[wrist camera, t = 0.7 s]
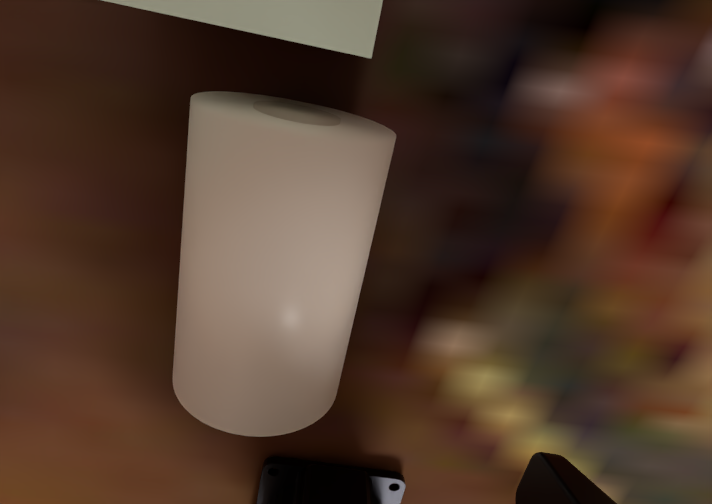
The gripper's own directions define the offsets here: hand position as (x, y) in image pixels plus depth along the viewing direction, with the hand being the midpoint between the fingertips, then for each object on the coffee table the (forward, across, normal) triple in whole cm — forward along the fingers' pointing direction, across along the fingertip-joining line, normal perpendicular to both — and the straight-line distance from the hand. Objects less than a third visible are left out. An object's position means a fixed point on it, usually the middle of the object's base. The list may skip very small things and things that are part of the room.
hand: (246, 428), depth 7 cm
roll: (+8, 0, +1) cm, 8 cm away
